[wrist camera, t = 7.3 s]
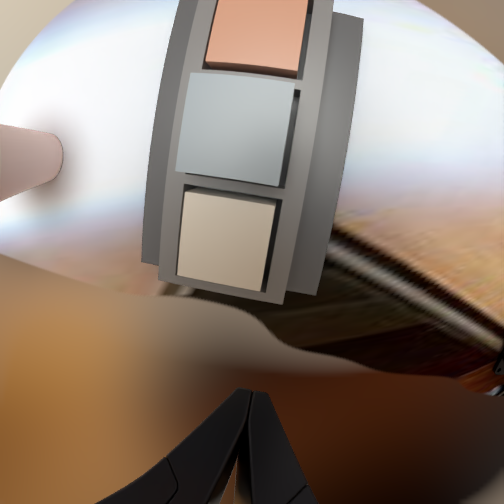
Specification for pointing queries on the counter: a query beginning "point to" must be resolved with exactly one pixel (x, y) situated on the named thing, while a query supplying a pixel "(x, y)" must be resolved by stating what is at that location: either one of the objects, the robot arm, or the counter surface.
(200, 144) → the key slate
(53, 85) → the counter surface
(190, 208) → the key ivory
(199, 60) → the keypad
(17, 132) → the smoothie
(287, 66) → the key terracotta
